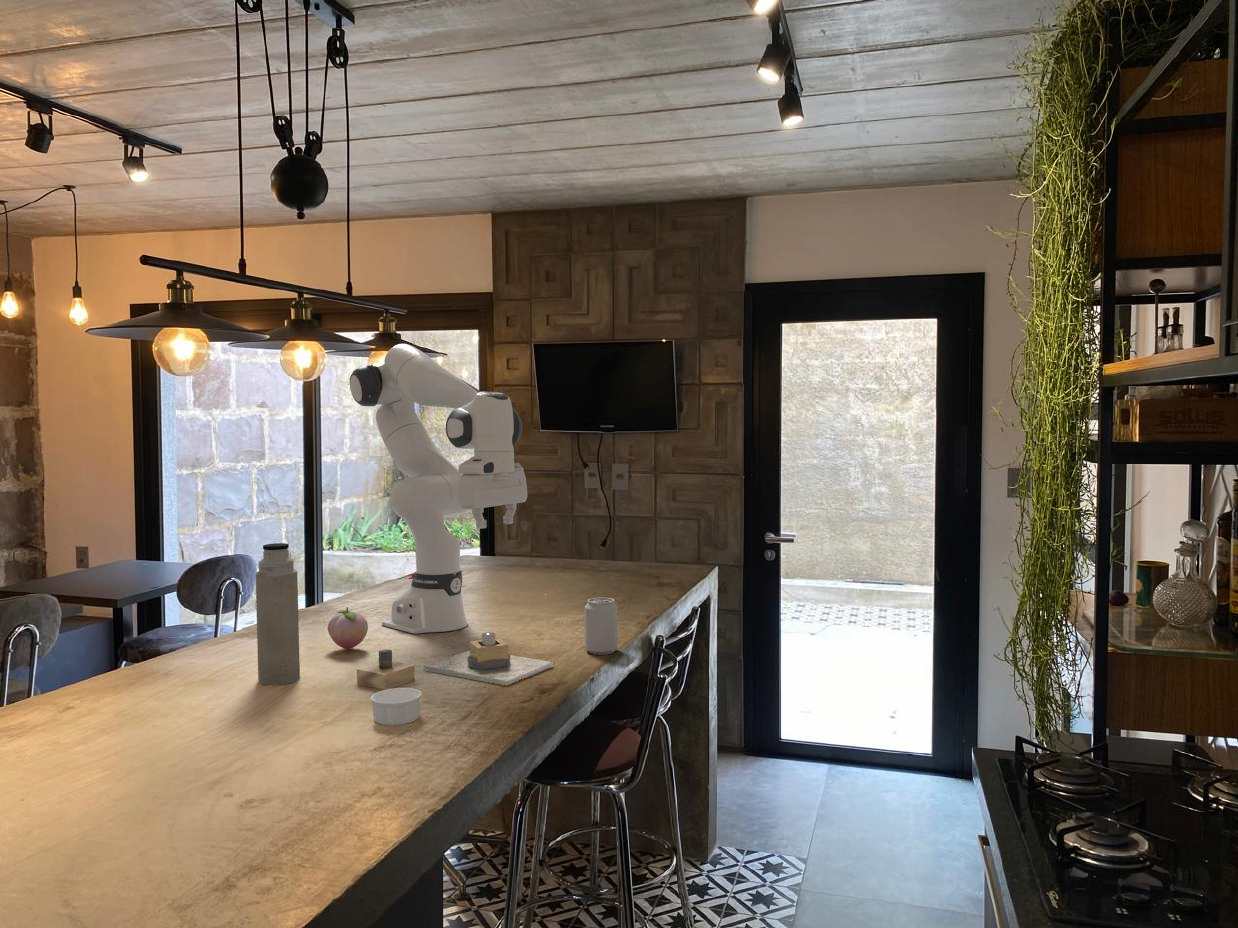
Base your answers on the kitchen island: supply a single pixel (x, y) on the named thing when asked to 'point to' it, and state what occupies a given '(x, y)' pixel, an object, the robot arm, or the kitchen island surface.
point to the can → (601, 626)
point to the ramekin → (396, 706)
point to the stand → (385, 672)
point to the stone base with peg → (489, 666)
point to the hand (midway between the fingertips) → (495, 525)
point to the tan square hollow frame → (488, 651)
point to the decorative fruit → (347, 629)
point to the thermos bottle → (277, 617)
